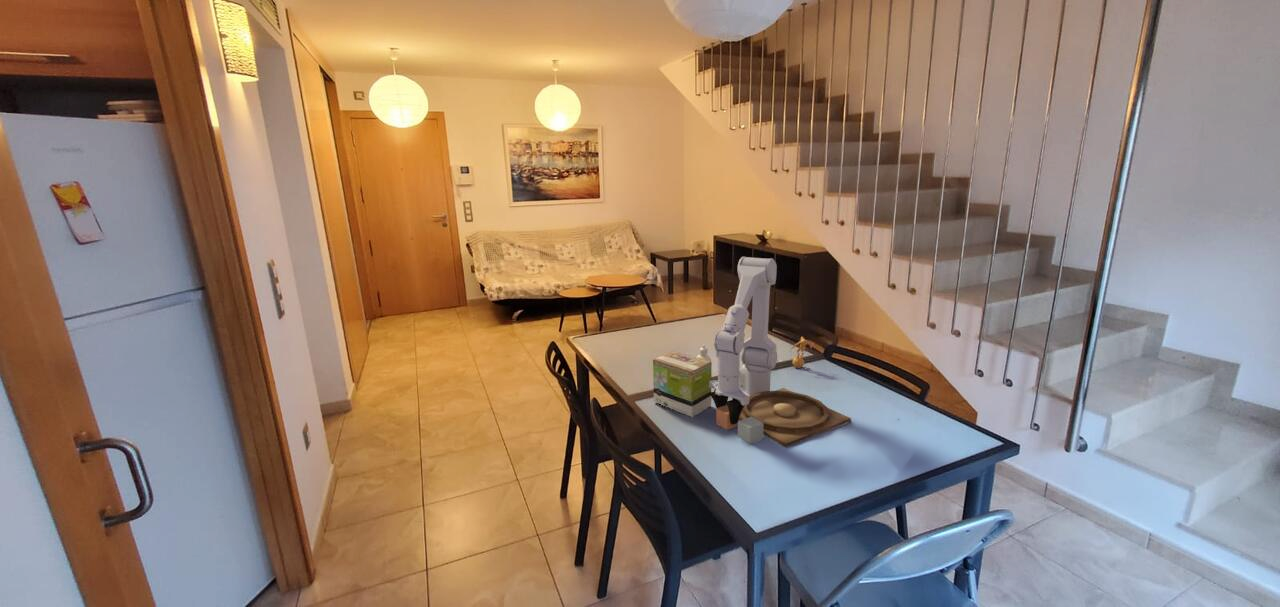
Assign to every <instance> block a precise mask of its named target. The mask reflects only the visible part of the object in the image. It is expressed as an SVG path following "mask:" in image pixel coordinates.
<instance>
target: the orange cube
mask: <svg viewBox="0 0 1280 607" xmlns="http://www.w3.org/2000/svg"><path fill="white" fill-rule="evenodd" d="M715 408H716V407H715ZM715 412H716V415H715V419H716V420H715V422H716V425H718V426H720V427H721V426H722V427H721V428H723V429H724V430H726V431H727V430H728V431H729V430H731V429H734V428H738V423H736V424H733V425H732V424H731V423H730V414H729V409H728V406H727V405H725V406H722V407H718V408H716V411H715ZM738 421H740V417H739V420H738Z"/></svg>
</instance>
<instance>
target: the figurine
mask: <svg viewBox="0 0 1280 607" xmlns="http://www.w3.org/2000/svg"><path fill="white" fill-rule="evenodd" d="M807 344H810V346H809V348H810V349H813V343H812V342H811V341H808V340H806V339H805V338H804V336H801V337H800V340H799V341H798V342H797V343H795V344H794V345H793V346H792V347H791V348H790V350H789V352H791V351H792V350H793V349H794V348H795V347H796V346H799V347H798V348H797V349H796V350H795V351H796V355H797V356H795V357H794V358H793V359H792V365H793V367H794V368H798V369H800V368H803V367H804V365H805V360H804V358H803V356H804V351H805V350H806V346H807ZM800 352H801V356H800Z"/></svg>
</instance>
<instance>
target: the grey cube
mask: <svg viewBox="0 0 1280 607" xmlns="http://www.w3.org/2000/svg"><path fill="white" fill-rule="evenodd" d="M737 438H739V439H741V440H742V441H744V442H745V443H747V444H749V445H751V444H754V443H757V442H759V441H761V440H763V439H764V435H763V423H762V422H760V421H758V420H756V419H755V418H753V417H749V418H746V419H743V420H740V421H738V426H737Z"/></svg>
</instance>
